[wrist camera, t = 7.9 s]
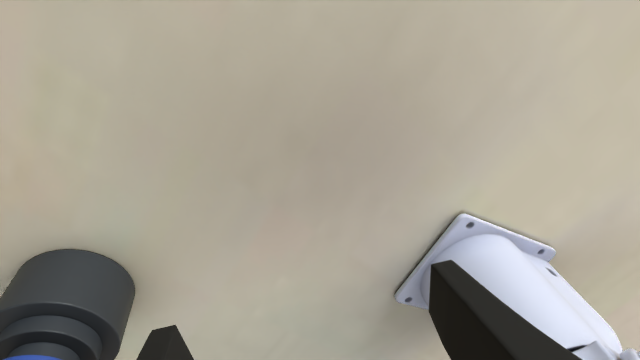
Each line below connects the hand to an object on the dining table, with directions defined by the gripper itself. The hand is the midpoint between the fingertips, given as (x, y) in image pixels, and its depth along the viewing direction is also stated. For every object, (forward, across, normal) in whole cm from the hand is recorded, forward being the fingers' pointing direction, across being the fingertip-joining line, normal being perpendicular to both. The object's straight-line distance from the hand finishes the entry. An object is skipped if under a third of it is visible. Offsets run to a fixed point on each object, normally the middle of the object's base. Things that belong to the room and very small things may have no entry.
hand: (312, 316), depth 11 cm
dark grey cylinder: (+10, +13, +6) cm, 18 cm away
